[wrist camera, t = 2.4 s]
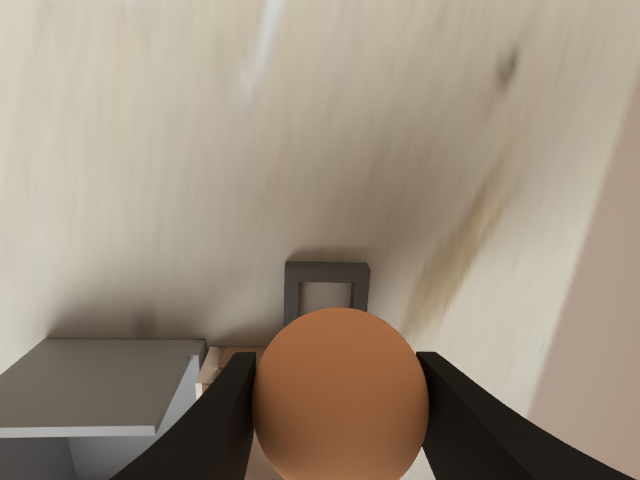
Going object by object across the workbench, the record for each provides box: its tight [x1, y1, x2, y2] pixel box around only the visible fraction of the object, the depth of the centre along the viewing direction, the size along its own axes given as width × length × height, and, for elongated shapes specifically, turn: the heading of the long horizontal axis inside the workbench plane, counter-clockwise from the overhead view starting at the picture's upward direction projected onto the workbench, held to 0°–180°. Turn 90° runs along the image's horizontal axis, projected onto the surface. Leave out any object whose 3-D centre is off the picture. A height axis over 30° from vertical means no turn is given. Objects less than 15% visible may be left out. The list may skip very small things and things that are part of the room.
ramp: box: [195, 347, 285, 480], centre depth 15 cm, size 8×6×5 cm
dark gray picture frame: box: [284, 262, 370, 327], centre depth 16 cm, size 4×4×1 cm
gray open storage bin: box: [0, 339, 206, 480], centre depth 15 cm, size 9×7×5 cm
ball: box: [251, 307, 429, 480], centre depth 10 cm, size 5×5×5 cm
